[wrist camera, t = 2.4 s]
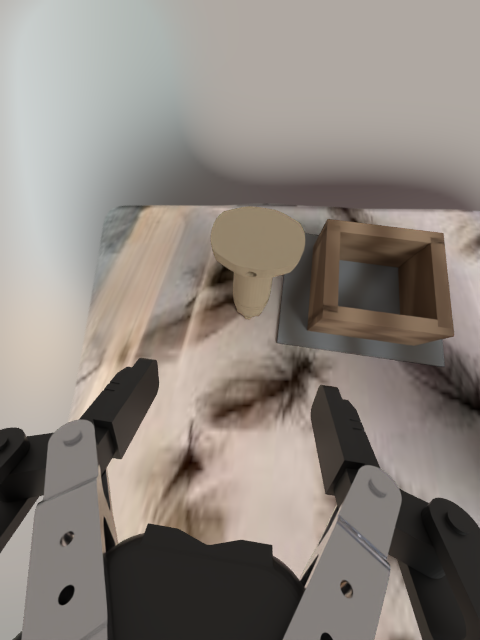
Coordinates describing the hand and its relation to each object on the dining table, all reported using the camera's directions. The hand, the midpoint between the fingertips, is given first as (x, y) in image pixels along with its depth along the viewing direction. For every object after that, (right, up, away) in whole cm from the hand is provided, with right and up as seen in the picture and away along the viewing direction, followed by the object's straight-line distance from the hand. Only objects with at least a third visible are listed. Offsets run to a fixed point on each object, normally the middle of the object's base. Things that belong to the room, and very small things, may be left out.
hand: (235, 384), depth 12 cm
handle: (+1, +5, +19) cm, 20 cm away
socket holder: (+16, +7, +19) cm, 26 cm away
